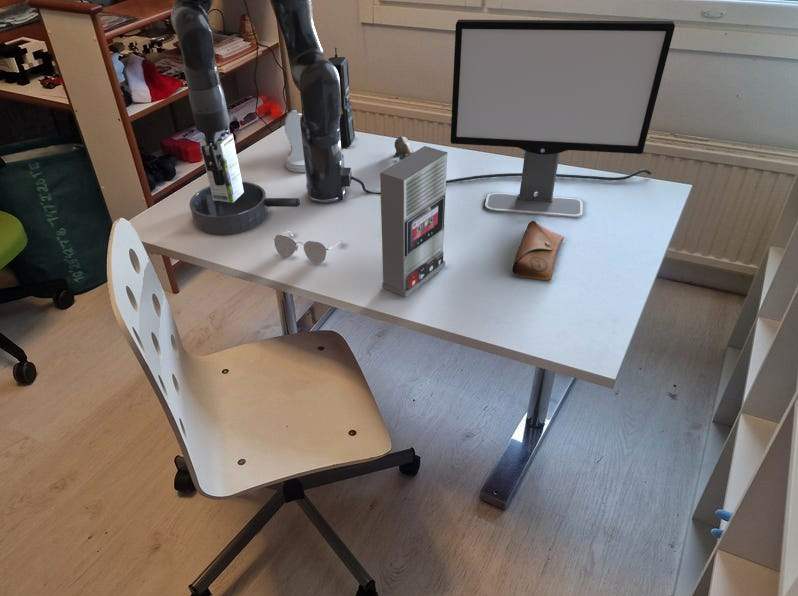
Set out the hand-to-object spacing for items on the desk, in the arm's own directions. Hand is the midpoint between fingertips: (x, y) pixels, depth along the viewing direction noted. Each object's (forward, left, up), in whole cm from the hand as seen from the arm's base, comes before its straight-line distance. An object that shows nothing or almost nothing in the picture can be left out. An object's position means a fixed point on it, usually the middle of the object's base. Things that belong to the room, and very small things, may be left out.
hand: (224, 177), depth 149 cm
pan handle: (-13, 0, -7) cm, 15 cm away
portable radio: (-22, -43, -10) cm, 49 cm away
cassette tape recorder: (-46, +25, -10) cm, 53 cm away
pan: (0, 0, -10) cm, 10 cm away
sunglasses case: (-71, +16, -10) cm, 74 cm away
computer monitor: (-73, -6, -10) cm, 74 cm away
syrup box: (0, 0, -5) cm, 5 cm away
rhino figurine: (-41, -29, -10) cm, 51 cm away
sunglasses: (-22, +15, -10) cm, 28 cm away
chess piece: (-13, -29, -10) cm, 33 cm away
